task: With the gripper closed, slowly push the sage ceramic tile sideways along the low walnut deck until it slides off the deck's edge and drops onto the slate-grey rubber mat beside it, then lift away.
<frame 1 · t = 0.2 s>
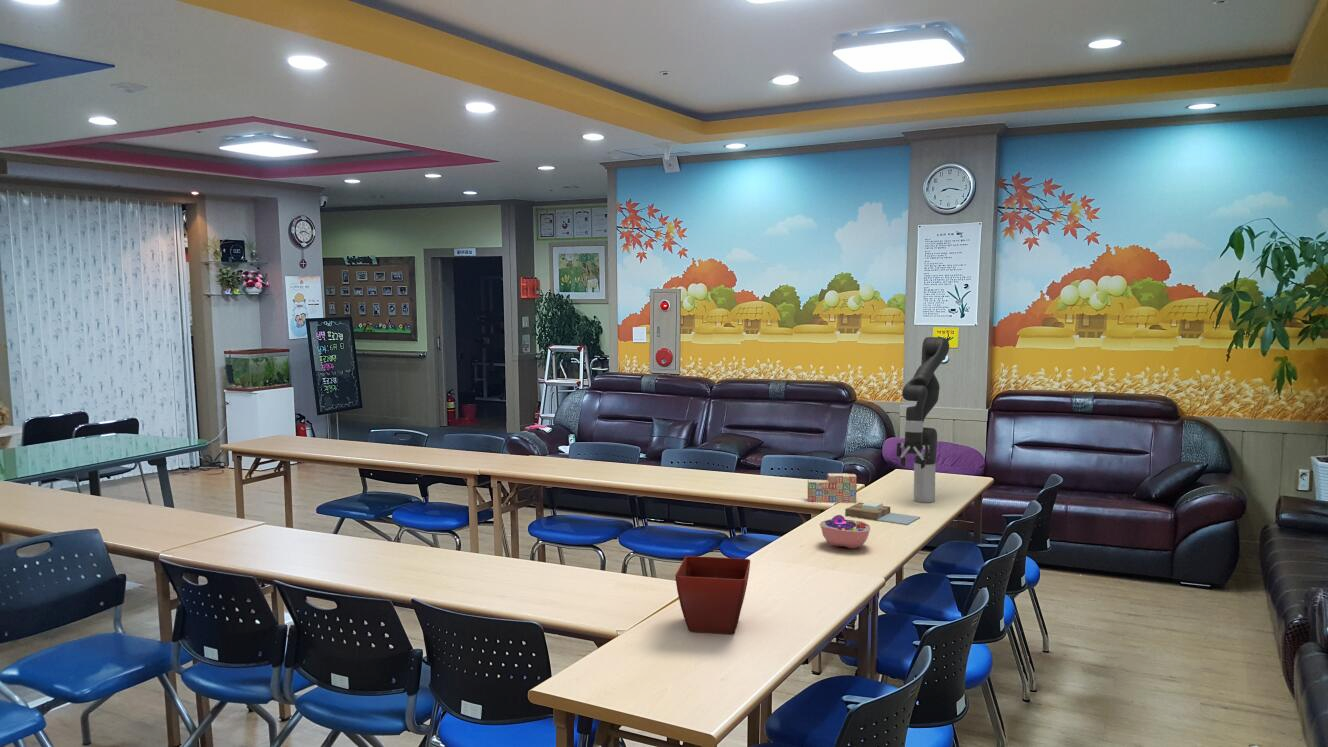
hand: (912, 467, 390), 17 cm above the table, tool pointing down, fingers open, 8 cm apart
mat: (898, 519, 369), on the table
plant pot: (714, 626, 250), on the table
deck: (867, 514, 377), on the table
cell model: (845, 547, 329), on the table
tile: (872, 508, 376), point 3 cm above the table, touching deck
stack of blocks: (831, 501, 404), on the table
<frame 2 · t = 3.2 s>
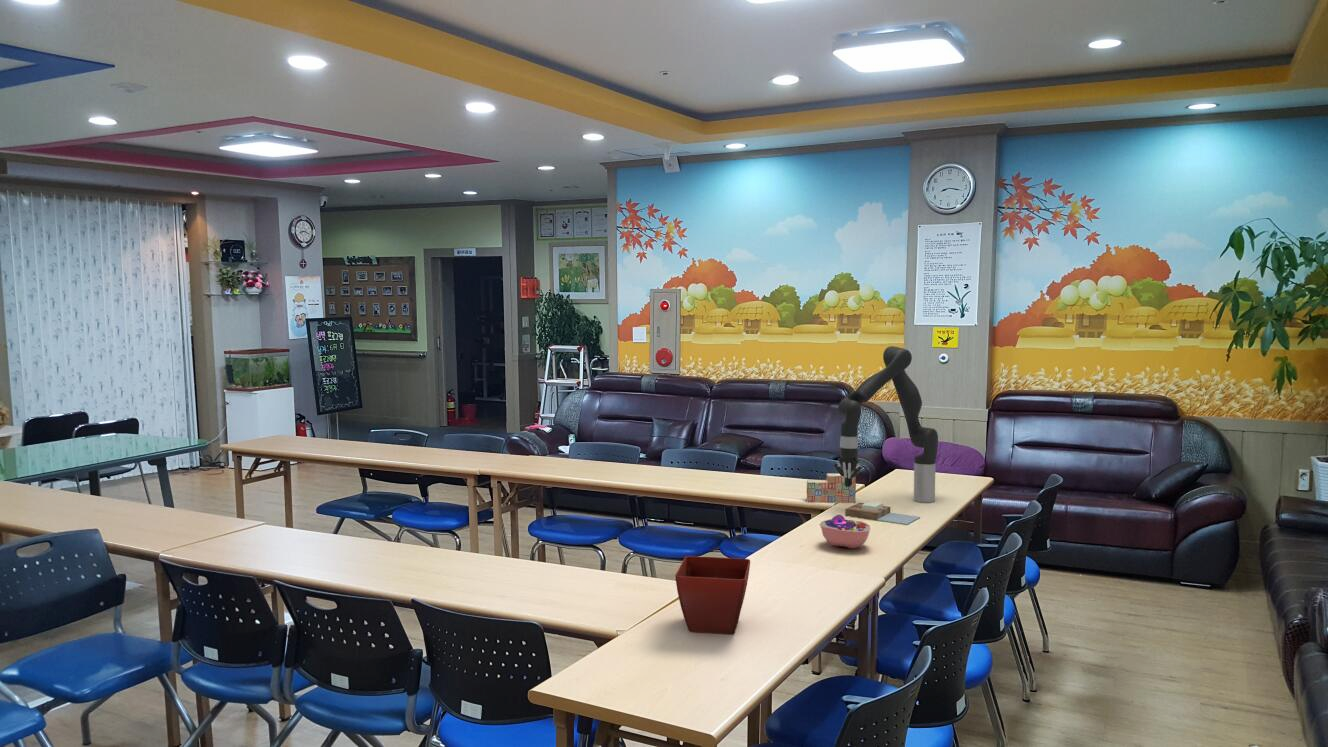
hand: (848, 486, 381), 11 cm above the table, tool pointing down, fingers closed
nothing on the table moved.
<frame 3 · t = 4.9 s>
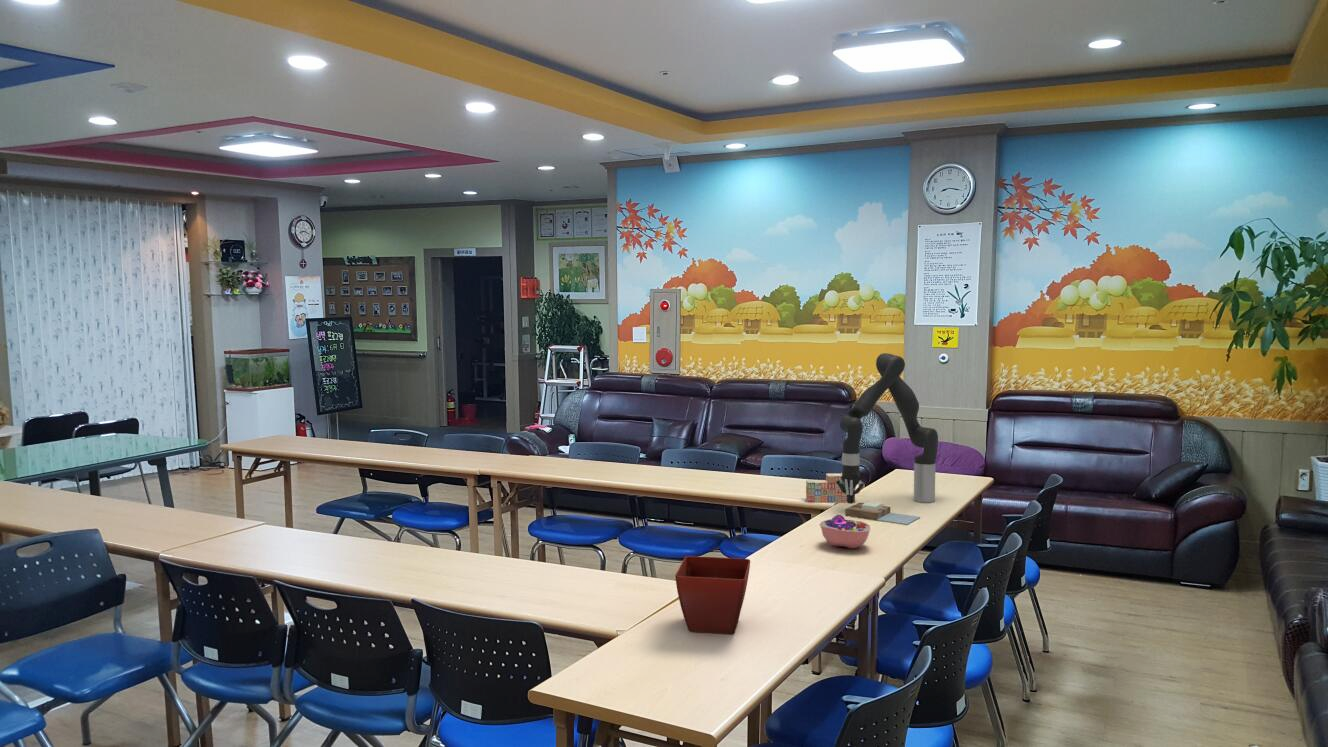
hand: (850, 503, 382), 4 cm above the table, tool pointing down, fingers closed
nothing on the table moved.
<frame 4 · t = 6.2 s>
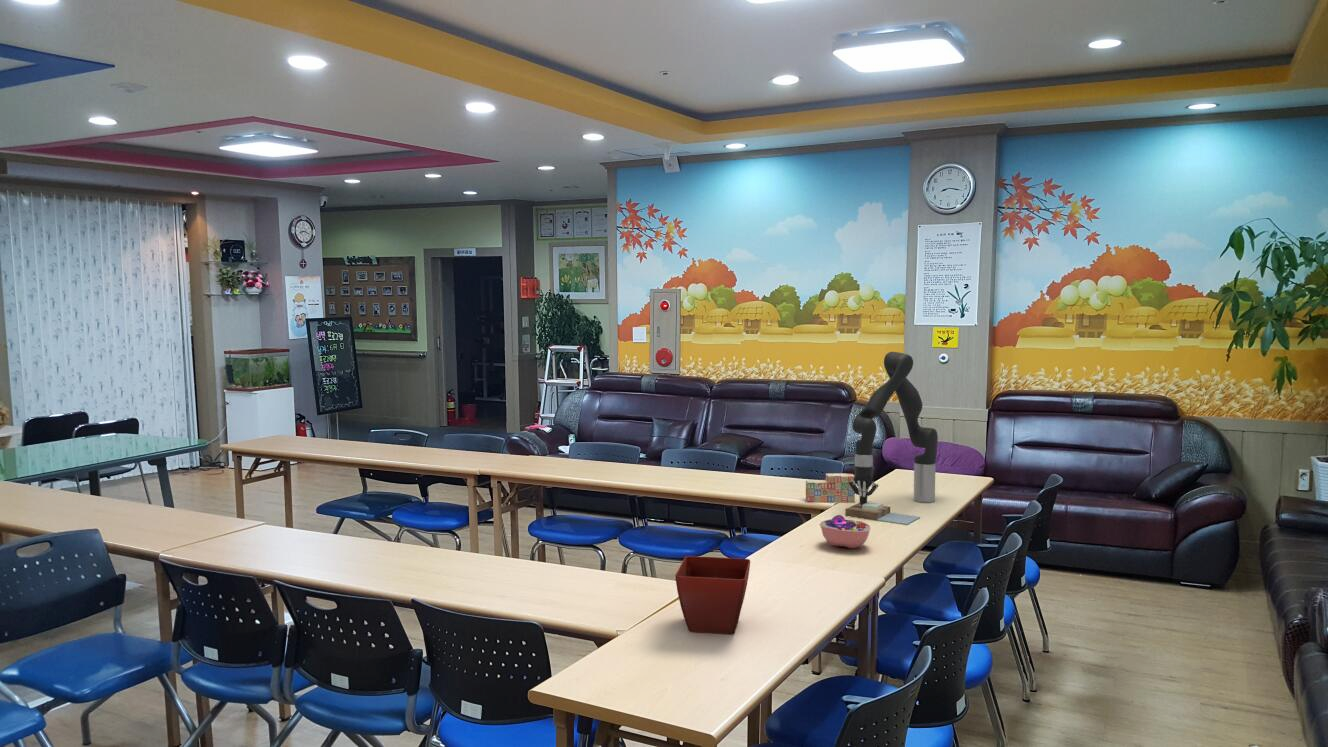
hand: (863, 504, 378), 4 cm above the table, tool pointing down, fingers closed
tile: (872, 508, 375), point 3 cm above the table, touching gripper
everything else where it was.
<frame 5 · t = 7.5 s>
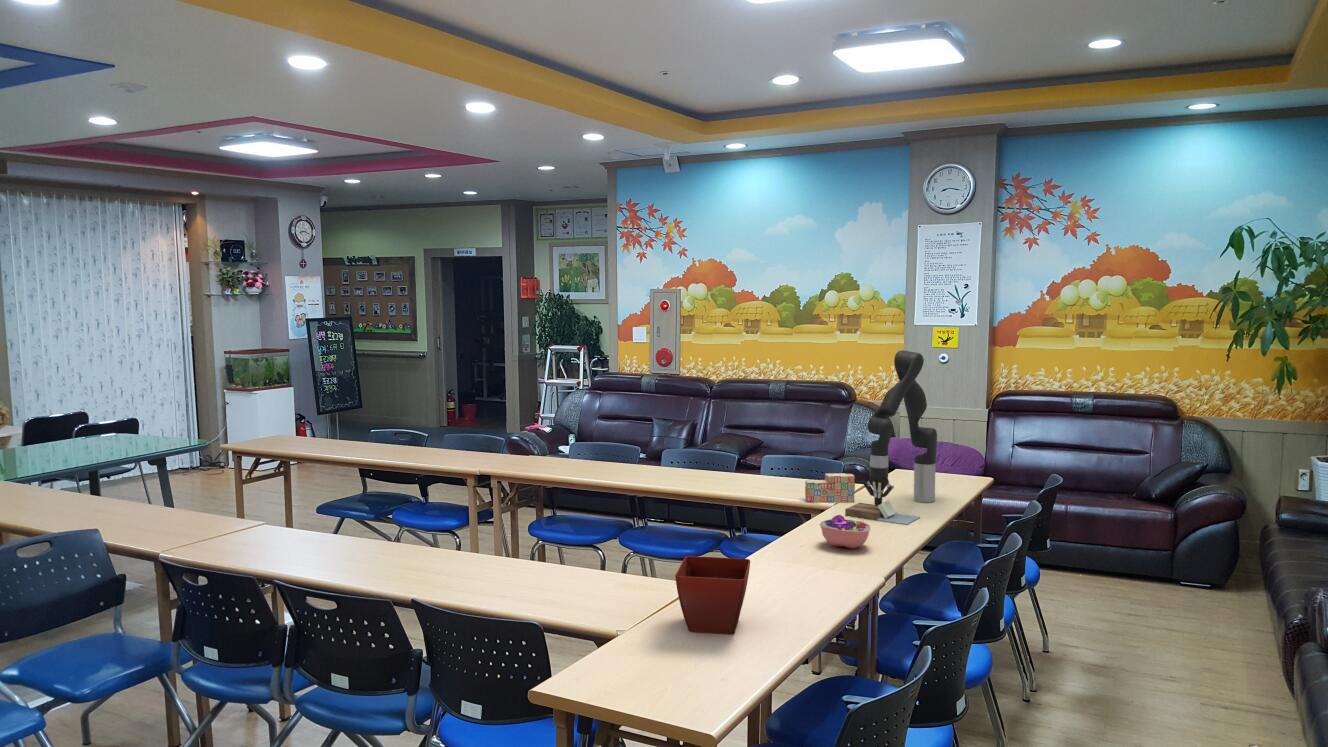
hand: (878, 506, 374), 4 cm above the table, tool pointing down, fingers closed
tile: (884, 510, 372), point 3 cm above the table, tilted 55°, touching gripper, mat
everything else where it was.
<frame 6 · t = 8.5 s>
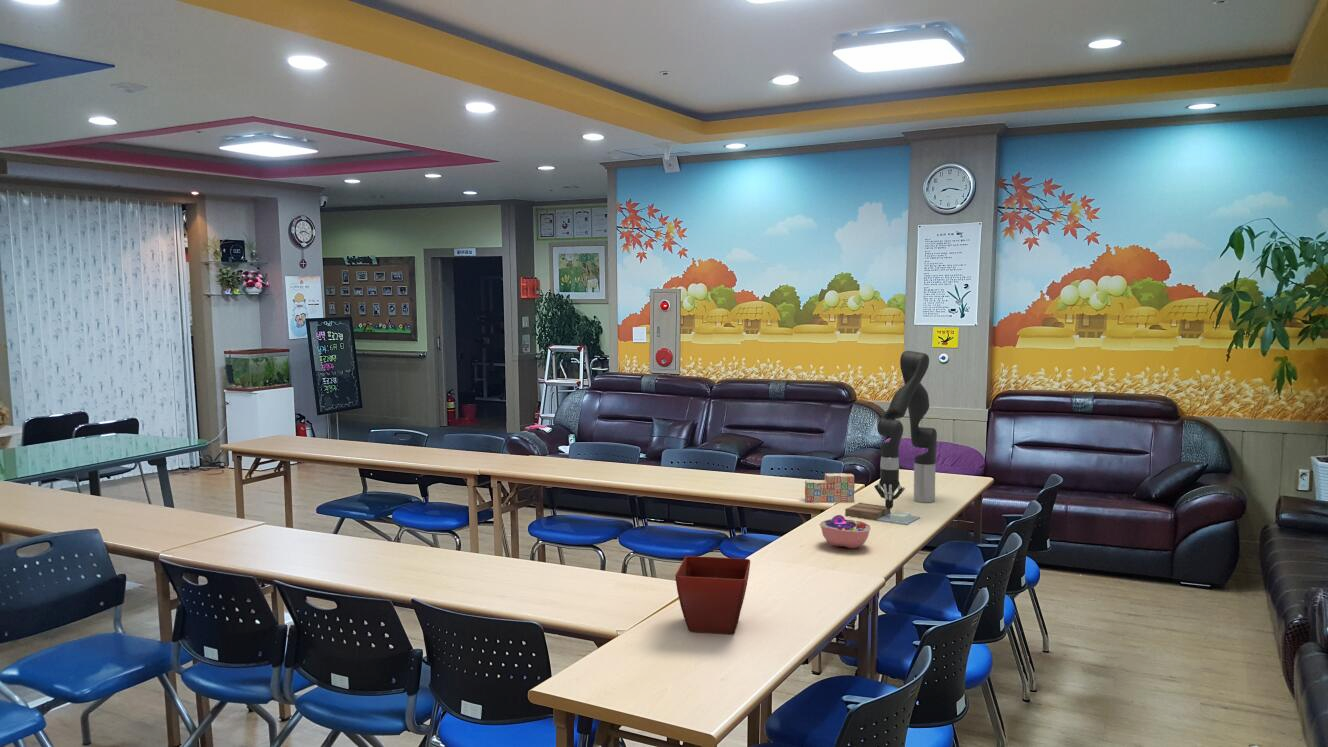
hand: (889, 508, 371), 4 cm above the table, tool pointing down, fingers closed
tile: (900, 513, 368), point 2 cm above the table, tilted 180°, touching mat
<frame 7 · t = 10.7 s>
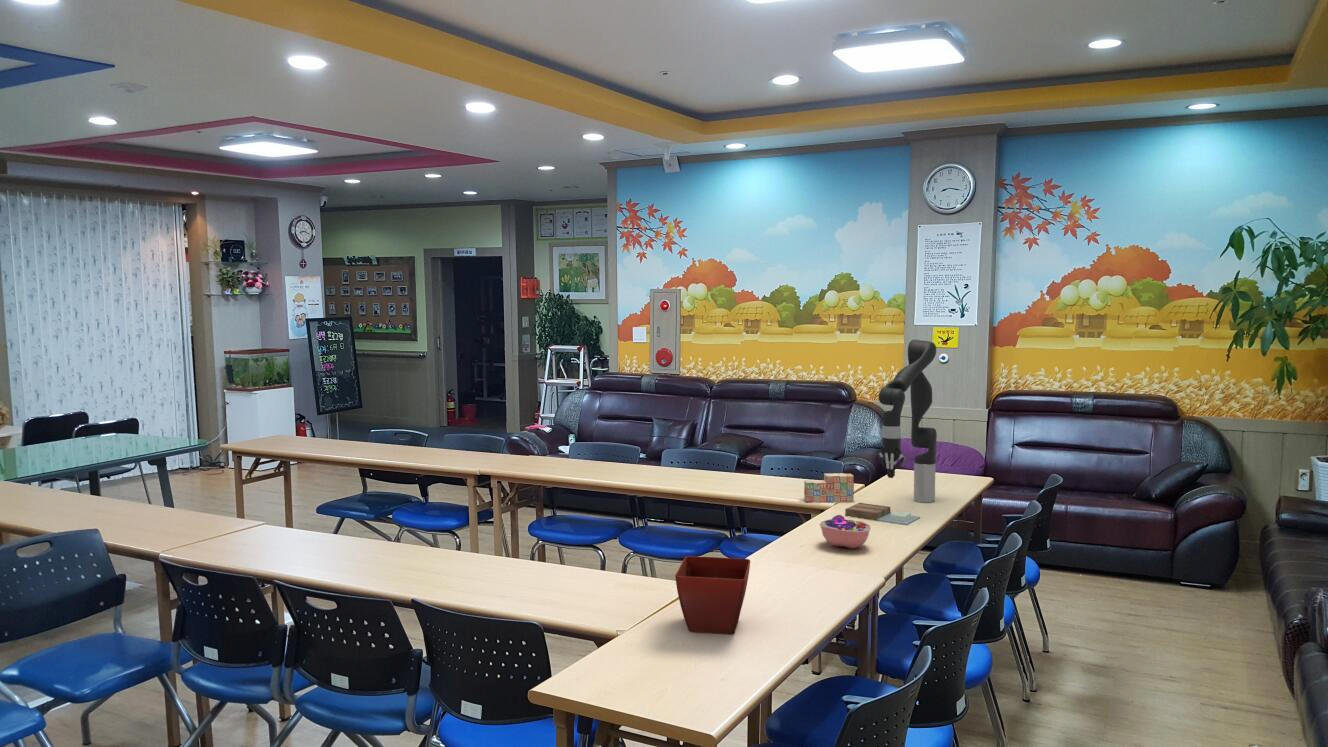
hand: (890, 477, 370), 17 cm above the table, tool pointing down, fingers closed
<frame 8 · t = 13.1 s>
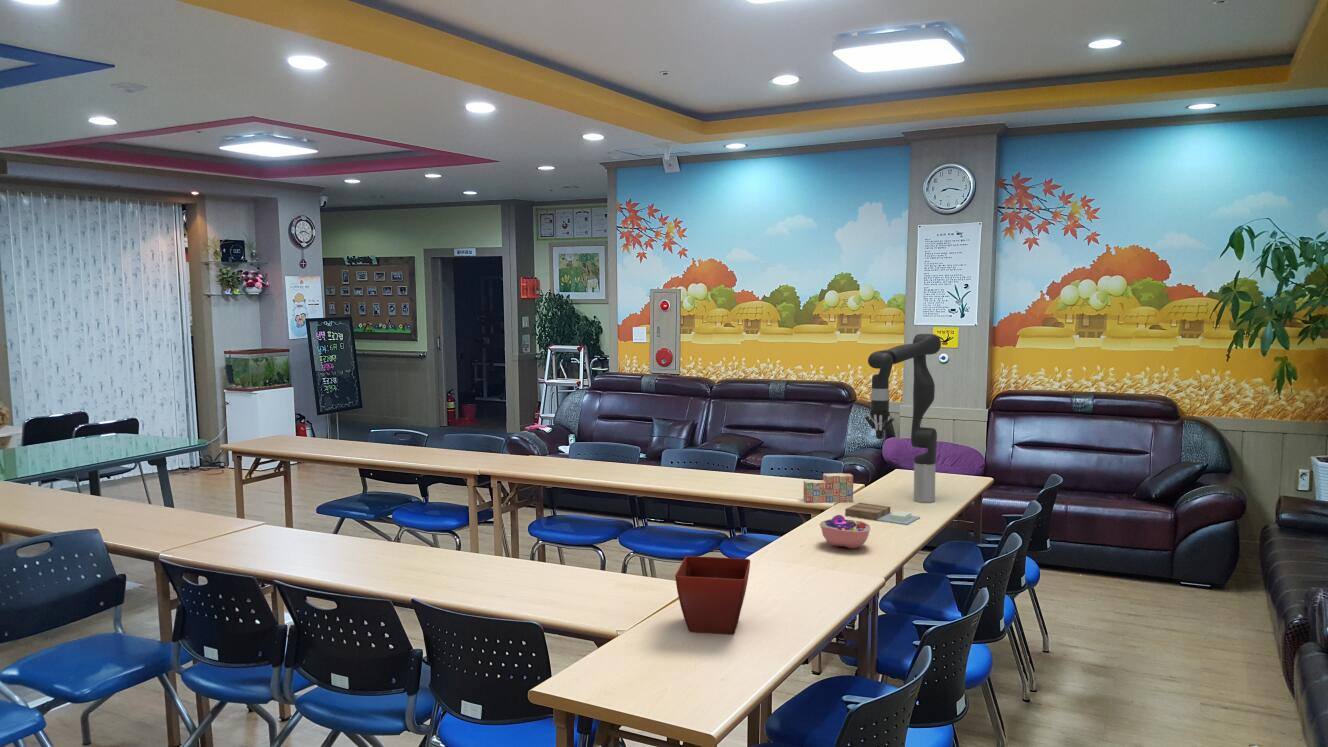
hand: (879, 438, 384), 31 cm above the table, tool pointing down, fingers closed
at the end: tile inside the target area (0.2 cm from its centre), point 2.5 cm above the table; tile touching mat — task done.
